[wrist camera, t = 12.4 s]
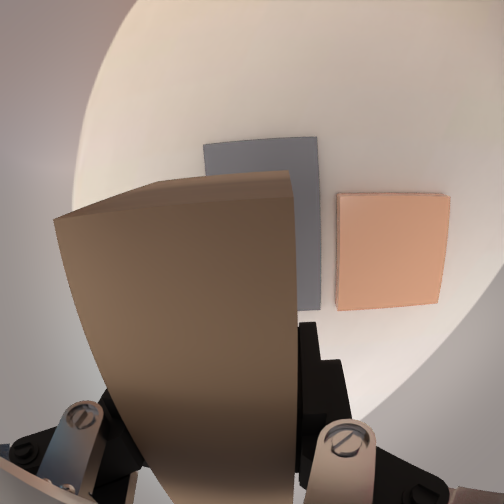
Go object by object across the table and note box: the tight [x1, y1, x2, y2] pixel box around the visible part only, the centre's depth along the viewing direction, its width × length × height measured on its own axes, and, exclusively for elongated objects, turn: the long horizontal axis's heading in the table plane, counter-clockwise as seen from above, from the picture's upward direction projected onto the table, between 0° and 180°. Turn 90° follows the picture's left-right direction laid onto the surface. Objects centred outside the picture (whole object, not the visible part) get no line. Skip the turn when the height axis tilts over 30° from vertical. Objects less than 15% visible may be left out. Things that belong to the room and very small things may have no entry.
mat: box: [203, 137, 321, 311], centre depth 26 cm, size 9×15×1 cm, turn 4°
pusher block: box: [53, 170, 298, 504], centre depth 9 cm, size 12×4×5 cm, turn 4°
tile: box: [335, 193, 450, 311], centre depth 25 cm, size 2×10×10 cm
